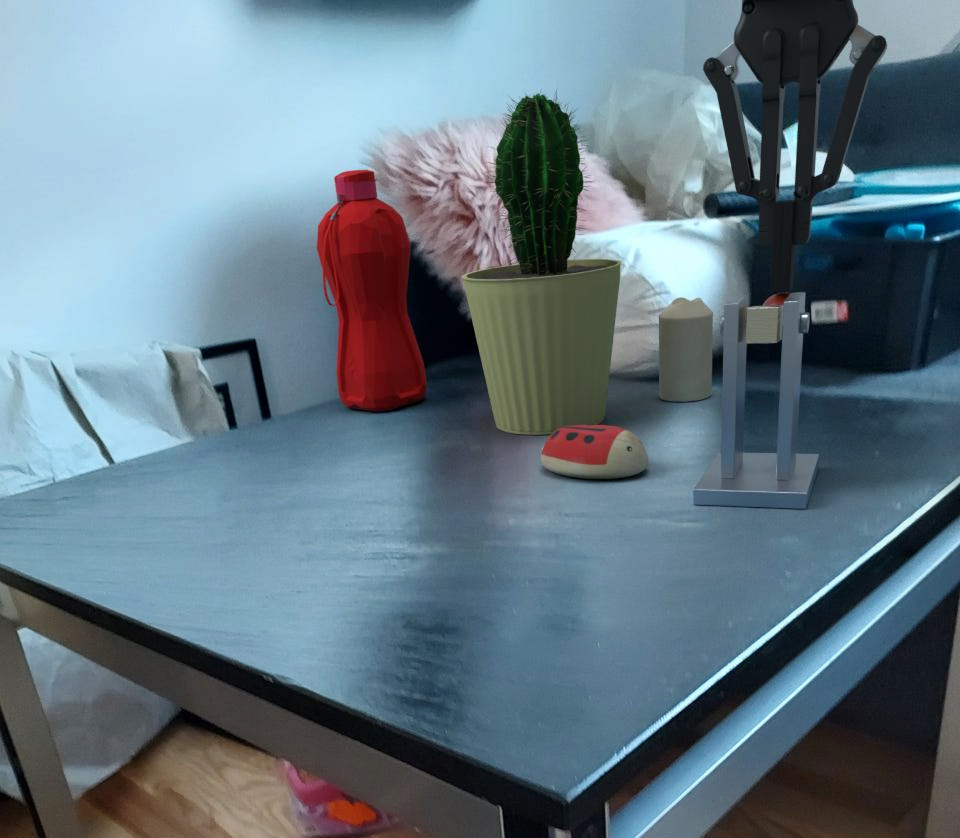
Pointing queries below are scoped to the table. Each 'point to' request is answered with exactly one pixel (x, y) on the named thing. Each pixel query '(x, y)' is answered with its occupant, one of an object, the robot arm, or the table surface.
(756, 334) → the lever
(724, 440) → the bracket
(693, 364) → the candle
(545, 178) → the potted cactus
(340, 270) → the water bottle
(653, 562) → the table surface
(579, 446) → the ladybug figurine
